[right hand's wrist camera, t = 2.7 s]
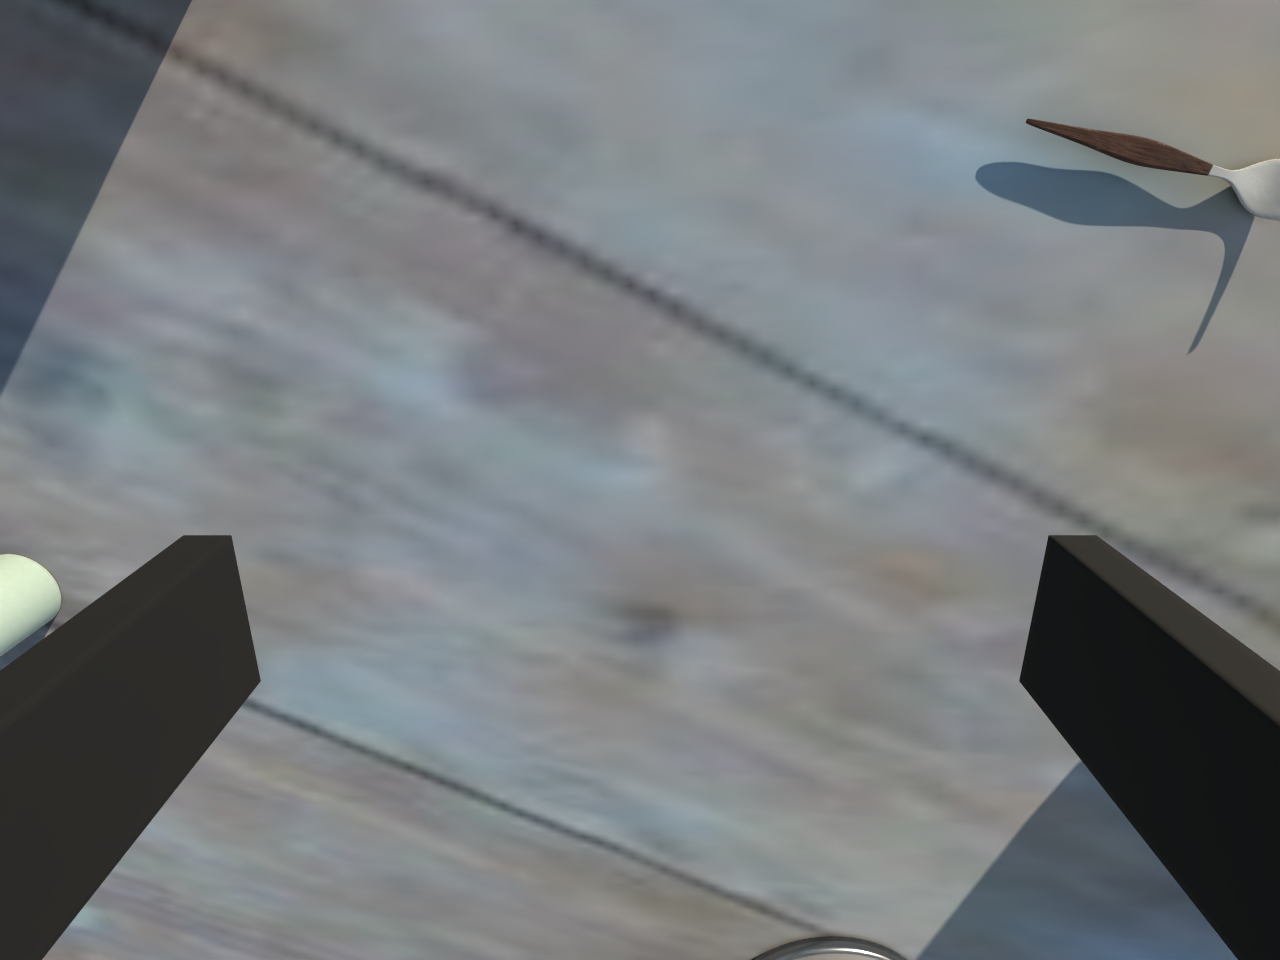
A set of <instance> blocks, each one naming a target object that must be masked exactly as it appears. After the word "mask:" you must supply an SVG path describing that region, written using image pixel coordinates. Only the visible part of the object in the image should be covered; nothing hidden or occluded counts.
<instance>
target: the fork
mask: <svg viewBox="0 0 1280 960" xmlns="http://www.w3.org/2000/svg"><path fill="white" fill-rule="evenodd" d="M1026 123H1027V124H1029V125H1031V126H1034V127H1037V128H1039V129H1042V130H1044V131H1047V132H1050V133H1053V134H1055V135H1058V136H1061V137H1063V138H1066V139H1069V140H1071V141H1074V142H1077V143H1079V144H1082V145H1084V146H1087V147H1089V148H1092V149H1094V150H1097V151H1099V152H1101V153H1104V154H1106V155H1109V156H1111V157H1114V158H1116V159H1119V160H1122V161H1124V162H1127V163H1131V164H1135V165H1139V166H1144V167H1149V168H1156V169H1163V170H1170V171H1177V172H1184V173H1192V174H1199V175H1206V176H1212V177H1218V178H1221V179H1224V180H1226V181H1227V182H1228V183H1229V184H1230V185H1231V186H1232V188H1233V189H1234V191H1235V193H1236V195H1237V197H1238V199H1239V201H1240V202H1241V204H1242V205H1243V207H1244V208H1245V209H1246V210H1247V211H1248V212H1250V213H1251V214H1253V215H1255V216H1257V217H1261V218H1265V219H1271V220H1279V221H1280V159H1273V160H1267V161H1263V162H1260V163H1257V164H1254V165H1251V166H1249V167H1246V168H1243V169H1239V170H1226V169H1223V168H1220V167H1217V166H1215V165H1212V164H1210V163H1208V162H1205V161H1203V160H1201V159H1198V158H1196V157H1194V156H1192V155H1189V154H1187V153H1185V152H1182V151H1180V150H1178V149H1175V148H1173V147H1171V146H1168V145H1166V144H1163V143H1160V142H1157V141H1154V140H1151V139H1148V138H1143V137H1139V136H1133V135H1127V134H1120V133H1113V132H1106V131H1099V130H1092V129H1086V128H1080V127H1074V126H1068V125H1062V124H1057V123H1051V122H1045V121H1039V120H1033V119H1027V121H1026Z"/></svg>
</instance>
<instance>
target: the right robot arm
mask: <svg viewBox="0 0 1280 960" xmlns="http://www.w3.org/2000/svg"><path fill="white" fill-rule="evenodd" d="M260 681H261V680H260V675H259V670H258V665H257V660H256V655H255V651H254V646H253V641H252V636H251V631H250V626H249V621H248V616H247V611H246V606H245V601H244V596H243V591H242V586H241V581H240V576H239V571H238V566H237V561H236V556H235V551H234V546H233V541H232V536H231V535H184V536H182V537H181V538H180V539H178V540H177V541H175V542H174V543H173V544H171V545H170V546H169V547H167V548H166V549H165V550H163V551H162V552H161V553H159V554H158V555H157V556H155V557H154V558H152V559H151V560H150V561H148V562H147V563H146V564H144V565H143V566H142V567H140V568H139V569H138V570H136V571H135V572H134V573H132V574H131V575H129V576H128V577H127V578H125V579H124V580H123V581H121V582H120V583H119V584H117V585H116V586H115V587H113V588H112V589H111V590H109V591H108V592H106V593H105V594H104V595H102V596H101V597H100V598H98V599H97V600H96V601H94V602H93V603H92V604H90V605H89V606H88V607H86V608H85V609H83V610H82V611H81V612H79V613H78V614H77V615H75V616H74V617H73V618H71V619H70V620H69V621H67V622H66V623H65V624H63V625H62V626H60V627H59V628H58V629H56V630H55V631H54V632H52V633H51V634H50V635H48V636H47V637H46V638H44V639H43V640H42V641H40V642H39V643H37V644H36V645H35V646H33V647H32V648H31V649H29V650H28V651H27V652H25V653H24V654H23V655H21V656H20V657H19V658H17V659H16V660H15V661H13V662H12V663H10V664H9V665H8V666H6V667H5V668H4V669H2V670H1V671H0V960H42V959H43V958H44V956H45V955H46V954H47V952H48V951H49V950H50V949H51V947H52V946H53V945H54V944H55V942H56V941H57V940H58V938H59V937H60V936H61V935H62V933H63V932H64V931H65V930H66V928H67V927H68V926H69V924H70V923H71V922H72V921H73V919H74V918H75V917H76V916H77V914H78V913H79V912H80V910H81V909H82V908H83V907H84V905H85V904H86V903H87V902H88V900H89V899H90V898H91V896H92V895H93V894H94V893H95V891H96V890H97V889H98V888H99V886H100V885H101V884H102V882H103V881H104V880H105V879H106V877H107V876H108V875H109V874H110V872H111V871H112V870H113V868H114V867H115V866H116V865H117V863H118V862H119V861H120V860H121V858H122V857H123V856H124V854H125V853H126V852H127V851H128V849H129V848H130V847H131V846H132V844H133V843H134V842H135V840H136V839H137V838H138V837H139V835H140V834H141V833H142V832H143V830H144V829H145V828H146V826H147V825H148V824H149V823H150V821H151V820H152V819H153V817H154V816H155V815H156V814H157V812H158V811H159V810H160V809H161V807H162V806H163V805H164V803H165V802H166V801H167V800H168V798H169V797H170V796H171V795H172V793H173V792H174V791H175V789H176V788H177V787H178V786H179V784H180V783H181V782H182V781H183V779H184V778H185V777H186V775H187V774H188V773H189V772H190V770H191V769H192V768H193V767H194V765H195V764H196V763H197V761H198V760H199V759H200V758H201V756H202V755H203V754H204V753H205V751H206V750H207V749H208V747H209V746H210V745H211V744H212V742H213V741H214V740H215V739H216V737H217V736H218V735H219V733H220V732H221V731H222V730H223V728H224V727H225V726H226V725H227V723H228V722H229V721H230V719H231V718H232V717H233V716H234V714H235V713H236V712H237V711H238V709H239V708H240V707H241V705H242V704H243V703H244V702H245V700H246V699H247V698H248V697H249V695H250V694H251V693H252V691H253V690H254V689H255V688H256V686H257V685H258V684H259V683H260ZM1019 681H1020V683H1021V684H1022V685H1023V686H1024V688H1025V689H1026V690H1027V691H1028V693H1029V694H1030V695H1031V697H1032V698H1033V699H1034V700H1035V702H1036V703H1037V704H1038V705H1039V707H1040V708H1041V709H1042V711H1043V712H1044V713H1045V714H1046V716H1047V717H1048V718H1049V719H1050V721H1051V722H1052V723H1053V725H1054V726H1055V727H1056V728H1057V730H1058V731H1059V732H1060V733H1061V735H1062V736H1063V737H1064V739H1065V740H1066V741H1067V742H1068V744H1069V745H1070V746H1071V747H1072V749H1073V750H1074V751H1075V753H1076V754H1077V755H1078V756H1079V758H1080V759H1081V760H1082V761H1083V763H1084V764H1085V765H1086V767H1087V768H1088V769H1089V770H1090V772H1091V773H1092V774H1093V775H1094V777H1095V778H1096V779H1097V781H1098V782H1099V783H1100V784H1101V786H1102V787H1103V788H1104V789H1105V791H1106V792H1107V793H1108V795H1109V796H1110V797H1111V798H1112V800H1113V801H1114V802H1115V803H1116V805H1117V806H1118V807H1119V809H1120V810H1121V811H1122V812H1123V814H1124V815H1125V816H1126V817H1127V819H1128V820H1129V821H1130V823H1131V824H1132V825H1133V826H1134V828H1135V829H1136V830H1137V832H1138V833H1139V834H1140V835H1141V837H1142V838H1143V839H1144V840H1145V842H1146V843H1147V844H1148V846H1149V847H1150V848H1151V849H1152V851H1153V852H1154V853H1155V854H1156V856H1157V857H1158V858H1159V860H1160V861H1161V862H1162V863H1163V865H1164V866H1165V867H1166V868H1167V870H1168V871H1169V872H1170V874H1171V875H1172V876H1173V877H1174V879H1175V880H1176V881H1177V882H1178V884H1179V885H1180V886H1181V888H1182V889H1183V890H1184V891H1185V893H1186V894H1187V895H1188V896H1189V898H1190V899H1191V900H1192V902H1193V903H1194V904H1195V905H1196V907H1197V908H1198V909H1199V910H1200V912H1201V913H1202V914H1203V916H1204V917H1205V918H1206V919H1207V921H1208V922H1209V923H1210V924H1211V926H1212V927H1213V928H1214V930H1215V931H1216V932H1217V933H1218V935H1219V936H1220V937H1221V938H1222V940H1223V941H1224V942H1225V944H1226V945H1227V946H1228V947H1229V949H1230V950H1231V951H1232V952H1233V954H1234V955H1235V956H1236V958H1237V959H1238V960H1280V671H1279V670H1278V669H1276V668H1275V667H1274V666H1272V665H1271V664H1270V663H1268V662H1267V661H1265V660H1264V659H1263V658H1261V657H1260V656H1259V655H1257V654H1256V653H1255V652H1253V651H1252V650H1251V649H1249V648H1248V647H1247V646H1245V645H1244V644H1243V643H1241V642H1240V641H1238V640H1237V639H1236V638H1234V637H1233V636H1232V635H1230V634H1229V633H1228V632H1226V631H1225V630H1224V629H1222V628H1221V627H1220V626H1218V625H1217V624H1215V623H1214V622H1213V621H1211V620H1210V619H1209V618H1207V617H1206V616H1205V615H1203V614H1202V613H1201V612H1199V611H1198V610H1197V609H1195V608H1194V607H1192V606H1191V605H1190V604H1188V603H1187V602H1186V601H1184V600H1183V599H1182V598H1180V597H1179V596H1178V595H1176V594H1175V593H1174V592H1172V591H1171V590H1169V589H1168V588H1167V587H1165V586H1164V585H1163V584H1161V583H1160V582H1159V581H1157V580H1156V579H1155V578H1153V577H1152V576H1151V575H1149V574H1148V573H1146V572H1145V571H1144V570H1142V569H1141V568H1140V567H1138V566H1137V565H1136V564H1134V563H1133V562H1132V561H1130V560H1129V559H1128V558H1126V557H1125V556H1123V555H1122V554H1121V553H1119V552H1118V551H1117V550H1115V549H1114V548H1113V547H1111V546H1110V545H1109V544H1107V543H1106V542H1105V541H1103V540H1102V539H1100V538H1099V537H1098V536H1096V535H1049V536H1048V541H1047V546H1046V551H1045V556H1044V561H1043V566H1042V571H1041V576H1040V581H1039V586H1038V591H1037V596H1036V601H1035V606H1034V611H1033V616H1032V621H1031V626H1030V631H1029V636H1028V641H1027V646H1026V651H1025V655H1024V660H1023V665H1022V670H1021V675H1020V680H1019ZM754 960H906V959H905V958H904V957H902V956H901V955H900V954H898V953H896V952H895V951H893V950H891V949H889V948H887V947H884V946H882V945H879V944H877V943H874V942H870V941H866V940H862V939H856V938H849V937H817V938H809V939H803V940H799V941H795V942H791V943H788V944H785V945H782V946H779V947H777V948H774V949H772V950H770V951H768V952H766V953H764V954H762V955H760V956H759V957H757V958H755V959H754Z"/></svg>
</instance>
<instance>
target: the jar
mask: <svg viewBox="0 0 1280 960" xmlns="http://www.w3.org/2000/svg"><path fill="white" fill-rule="evenodd" d="M60 606H61V593H60V590H59V587H58V585H57V583H56V581H55V579H54V578H53V577H52V575H51V574H50V573H49V572H48V571H47V570H46V569H45V568H44V567H42V566H41V565H40V564H38V563H37V562H35V561H33V560H31V559H29V558H26V557H23V556H20V555H14V554H2V555H0V656H2V655H3V654H5V653H6V652H7V651H9V650H10V649H11V648H13V647H14V646H16V645H17V644H18V643H20V642H21V641H23V640H24V639H25V638H27V637H28V636H30V635H31V634H32V633H34V632H35V631H37V630H38V629H39V628H41V627H42V626H44V625H45V624H46V623H48V622H49V621H51V620H52V619H53V618H54V617H55V616H56V614H57V613H58V611H59V609H60Z"/></svg>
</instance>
